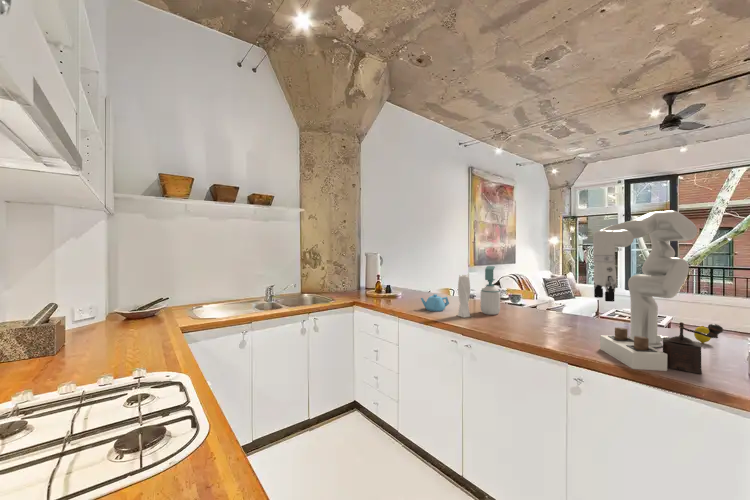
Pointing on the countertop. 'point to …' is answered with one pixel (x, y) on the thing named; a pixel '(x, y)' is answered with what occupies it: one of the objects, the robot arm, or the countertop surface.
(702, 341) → the lemon
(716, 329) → the coffee grinder
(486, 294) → the soap bottle
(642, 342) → the peg
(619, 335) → the peg
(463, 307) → the twisted white vase
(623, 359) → the peg block
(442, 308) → the teapot
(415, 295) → the countertop surface
